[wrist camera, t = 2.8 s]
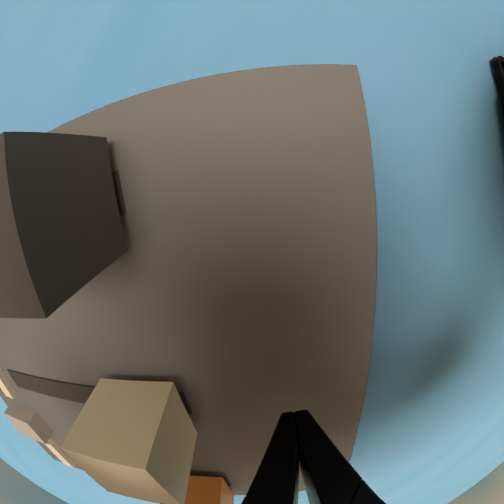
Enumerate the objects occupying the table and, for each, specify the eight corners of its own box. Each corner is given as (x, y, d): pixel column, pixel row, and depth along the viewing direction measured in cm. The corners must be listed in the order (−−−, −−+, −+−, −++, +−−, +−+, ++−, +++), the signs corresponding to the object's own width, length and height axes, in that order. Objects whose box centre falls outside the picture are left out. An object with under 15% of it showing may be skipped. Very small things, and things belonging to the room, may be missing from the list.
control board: (340, 79, 7) (388, 37, 4) (338, 465, 13) (347, 508, 10) (-56, 214, 8) (-93, 229, 5) (59, 447, 14) (45, 474, 11)
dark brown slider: (106, 137, 6) (3, 132, 2) (128, 250, 7) (46, 318, 3) (30, 169, 6) (-59, 187, 3) (51, 263, 7) (-26, 316, 4)
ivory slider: (173, 381, 8) (145, 469, 5) (197, 432, 9) (183, 506, 6) (100, 378, 8) (60, 447, 5) (131, 427, 9) (107, 491, 6)
